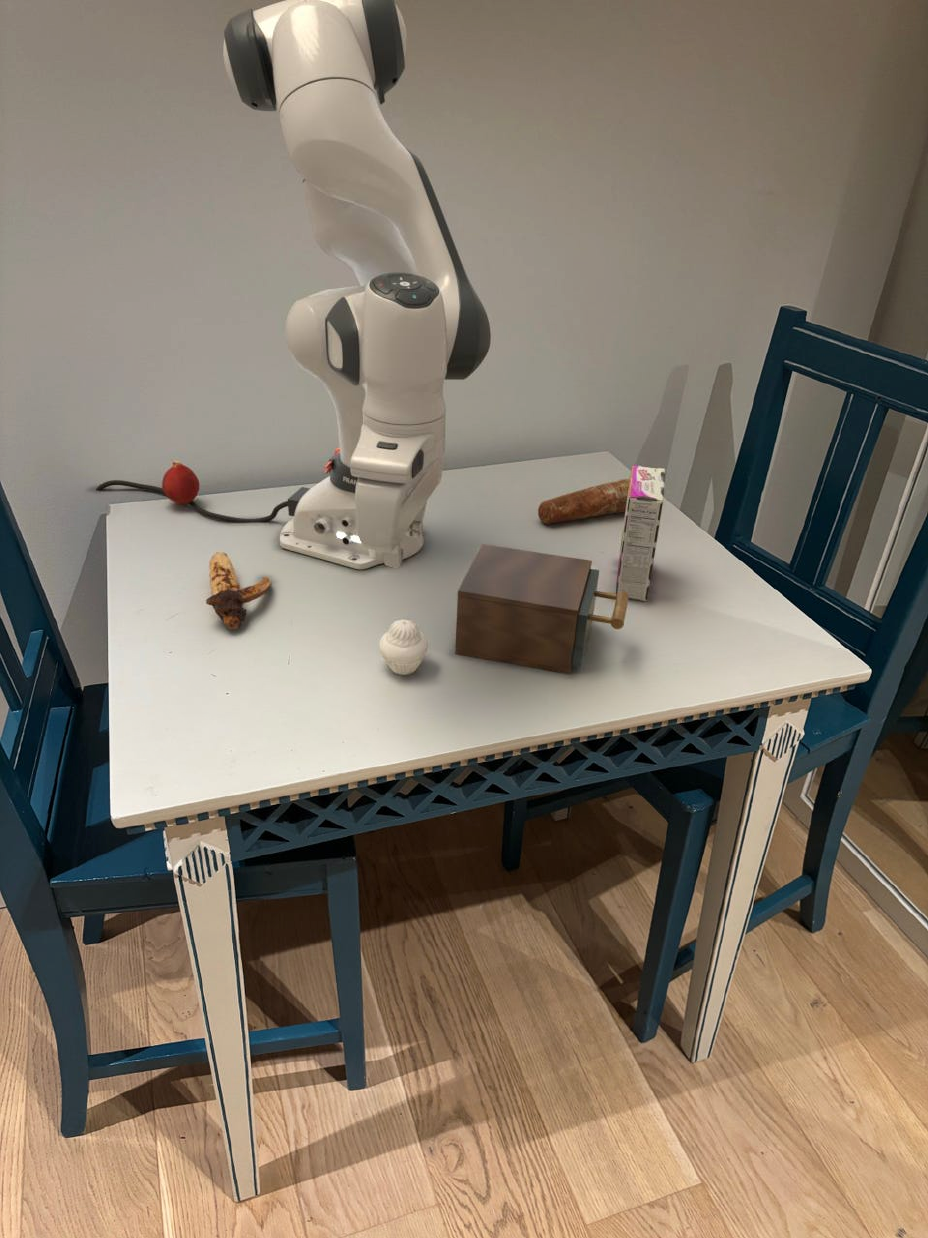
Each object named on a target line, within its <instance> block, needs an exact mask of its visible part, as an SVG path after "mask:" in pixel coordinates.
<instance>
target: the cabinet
mask: <svg viewBox="0 0 928 1238" xmlns="http://www.w3.org/2000/svg"><path fill="white" fill-rule="evenodd" d="M592 563H593V561H592V560H590V559H583V558H578V557H577V558H576V557H571V556H570V557H569V556H565V555H558V554H551V553H544V552H538V551H531V550H530V551H529V550H525V549H519V548H518V549H517V548H511V547H505V546H499V545H493V544H487V543H481V545H480V547H479V548H478V550H477V552H476V555H475V556H474V558H473V560H472V563H471V565H470V566H469V568H468V570H467V572H466V574H465V576H464V578H463V580H462V582H461V584H460V586H459V588H458V590H457V601H456V623H455V624H456V625H455V627H456V628H455V650H454V653H455V654H456V655H461V656H466V657H472V658H476V659H477V658H478V659H483V660H488V661H494V662H499V663H500V662H501V663H506V664H510V665H517V666H523V667H528V668H534V669H540V670H545V671H551V672H557V673H561V674H566V675H570V674H571V672H572V668H573V666H572V657H573V649H574V641H575V634H576V626H577V618H578V613H579V609H580V605H581V602H582V598H583V595H584V591H585V587H586V584H587V580H588V576H589V573H590V569H592Z"/></svg>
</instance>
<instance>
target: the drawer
mask: <svg viewBox="0 0 928 1238" xmlns="http://www.w3.org/2000/svg"><path fill="white" fill-rule="evenodd" d="M599 576H600V569H594V568H591V569H590V573H589V576H588V580H587V584H586V587H585V591H584V595H583V598H582V602H581V605H580V609H579V613H578V618H577V626H576V634H575V641H574V649H573V657H572V667H576V668H581V667H582V664H583V659H584V655H585V652H586V647H587V643H588V639H589V635H590V631H591V628H592V623H593V622H596V623H602V624H609V625H610V626H611V627H612V628H613V629H615V630H620V629H622V628H624V624H625V620H626V614H627V608H628V604H629V600H630V599H629V595H628V593H627V592H625V591H620V592H618V593H617V594H616V593H612V592H606V591H600V590H598V583H599ZM597 598H601V599H607V600H615V601H614V606H613V611H612V615H611V617H610V616H603V615H597V614H594V612H595V605H596V599H597Z"/></svg>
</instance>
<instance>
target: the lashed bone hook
mask: <svg viewBox="0 0 928 1238" xmlns="http://www.w3.org/2000/svg"><path fill="white" fill-rule="evenodd" d="M208 570H209V574H208V575H209V582H210V591H211V596H210V597H208V598H206V600H205V604H206V605H208V606H211V607H212V609H214V611H215V614H216V615H217V616H218V617H219V619H222V620H223V624H224V625H225V627H227V628H228V629H229V630H234V629H238V628H240V627H241V626H243V625H242V624H243V623H244V621H245V619H246V617H247V611H248V609H246V608H244V607H243V606H244V604H247V603H251V602H253V601H255V600H257V599H259V598H260V597H262V596H263V595H265V594H266V593H267V592H268V591H269V590H270V588H271V586H272V581H271V579H270V578H268V577H267V576H263V577H262V579H261V580H260V581H259V582H257V583H256V584H254V585H249V586H246V587H244V588H240V582H239V581H238V578H237V575H236V570H235V568H234V566H233V563H232V560H231V558H230V557H229V555H228V553H226V552H223V551H220V552H215V553H214V554H212V556H211V558H210V561H209V565H208Z"/></svg>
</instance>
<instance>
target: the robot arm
mask: <svg viewBox="0 0 928 1238" xmlns="http://www.w3.org/2000/svg"><path fill="white" fill-rule="evenodd" d="M223 37H224V39H223V47H222V50H223V51H222V53H223V65H224V69H225V71H226V72H225V73H226V74H227V77H228V80H229V82H230V83H231V85H232V88H233V89H234V90H235V92H236V94H237V95H238V96H239V98H240V100H241V102H242V103H243V104H245V105H246V106H247V107H249V108H250V109H252V110H253V111H259V112H260V111H261V112H278V116H279V117H278V118H279V122H280V128H281V131H282V136H283V140H284V143H285V147H286V150H287V153H288V156H289V159H290V161H291V163H292V165H293V166H294V169H295V170H296V171H297V173H298V174H299V175H300V178H301V185H302V188H303V192H304V197H305V201H306V206H307V210H308V216H309V219H310V224H311V225H310V226H311V228H312V234H313V238H314V240H315V242H316V243H317V245H318V247H319V248H320V249H321V250H322V252H324V253H325V254H326V255H327V256H329V257H331V258H333V259H335V260H337V261H340V262H342V263H343V264H344V265H345V266H347V267H348V268H349V269H350V270H351V272H353V274H354V275H355V277H356V278H357V280H358V283H359V285H355V286H354V285H353V286H348V287H340V288H330V289H324V290H321V291H319V292H316V293H313V294H310V295H308V296H305V297H303V298H300V299H298V300H296V301H294V303H293V304H292V305H291V308H290V309H289V311H288V313H287V316H286V321H285V325H284V335H285V342H286V345H287V348H288V351H289V353H290V355H291V357H292V358H293V360H294V361H295V363H296V364H297V365H298V366H299V367H300V368H301V369H302V370H304V371H305V372H306V373H308V374H310V375H311V376H312V377H314V378H315V379H316V380H318V382H320V383H321V384H322V385H323V386H324V388H325V390H326V391H327V393H328V394H329V396H330V398H331V401H332V403H333V406H334V409H335V415H336V421H337V429H338V430H337V432H338V441H339V442H338V443H339V446H338V447H337V448H336V449H335V450H334V451H333V455H332V456H331V457H329V459H328V463H326V465H325V466H324V469H325V471H324V474H325V475H327V474H329V476H327V477H326V478H324V479H322V480H321V481H319V482H318V483H317V484H315V485H314V486H311V488H309V487H304V486H301V487H300V488H298V489H297V491H295V492H294V493H293V494H292V495H290V496H289V497H288V498H287V500H286V501H283V502H280V503H279V504H277V505H276V506H274V508H273V510H272V512H271V513H270V514H269V515H267V516H263V517H258V518H243V517H235V516H229V515H223V514H220V513H216V512H212V511H208V510H206V509H205V508H203V507H201V506H200V505H199V504H198V503H196V502H195V501H194V500H193V501H191V502H190V503H189V504H188V506H190V507H192V508H193V509H194V510H195V511H197V512H198V513H199V514H201V515H203V516H205V517H207V518H210V519H214V520H218V521H222V522H223V521H224V522H229V523H234V524H235V523H236V524H237V523H238V524H251V523H253V524H254V523H267V522H271V521H272V520H274V519H275V518H276V517H277V515H278V514H279V512H280V511H281V510H282V509H285V508H287V510H288V516H290V517H292V518H291V519H289V520H288V521H287V522H286V524H285V525H284V526H283V528H282V529H281V531H280V534H279V545H280V548H282V549H285V550H288V551H291V552H295V553H299V554H302V555H306V556H310V557H313V558H316V559H319V560H324V561H327V562H330V563H334V564H337V565H341V566H345V567H348V568H351V569H355V570H366V569H369V568H372V567H374V566H377V565H380V564H384V565H385V566H386V567H389V568H396V569H397V568H399V567H400V566H401V564H402V563H403V561H404V559H408V558H410V557H412V556H413V555H416V554H417V553H418V552H420V550H421V549H422V548H423V546H424V544H425V543H424V541H425V540H424V536H423V533H422V532H423V530H424V529H423V527H424V517H425V512H426V509H427V504H428V501H429V499H430V498H431V496H432V495H433V493H434V492H435V491H436V489H437V488H438V486H439V485H440V483H441V482H442V481H441V480H442V476H443V456H444V455H445V451H446V419H447V418H446V417H447V407H446V402H445V399H444V383H445V381H446V380H449V381H451V380H452V381H454V380H455V381H459V380H460V381H463V380H466V379H467V378H469V377H470V376H471V375H472V374H473V373H474V372H476V370H477V369H478V368H479V367H480V365H482V363H483V361H484V360H485V358H486V357H487V355H488V353H489V350H490V348H491V340H492V338H491V336H492V335H491V325H490V320H489V317H488V314H487V311H486V309H485V307H484V306H485V305H483V302H482V301H481V299H480V297H479V295H478V294H477V292H476V290H475V289H474V287H473V285H472V283H471V281H470V279H469V276H468V275H467V273H466V270H465V268H464V264H463V261H462V259H461V257H460V254H459V251H458V249H457V246H456V244H455V242H454V238H453V236H452V233H451V231H450V229H449V225H448V224H447V220H446V218H445V215H444V213H443V210H442V207H441V205H440V202H439V200H438V197H437V195H436V192H435V189H434V187H433V184H432V183H431V180H430V178H429V176H428V174H427V171H426V169H425V167H424V165H423V163H422V161H421V160H420V158H419V157H418V156H417V155H416V154H415V153H413V152H412V151H411V150H409V149H408V148H406V147H405V146H404V144H402V143H401V142H400V140H399V139H398V138H397V137H396V136H395V134H394V133H393V132H392V130H391V128H390V126H389V125H388V123H387V121H386V120H385V118H384V116H383V114H382V111H381V109H380V106H381V105H384V103H385V102H386V100H385V99H386V98H385V95H386V94H387V93H388V92H390V91H391V90H393V88H394V87H395V86H396V85H397V84H398V83H399V80H400V78H401V77H402V75H403V73H404V71H405V69H406V59H407V53H408V46H409V45H408V32H407V26H406V23H405V20H404V17H403V14H402V12H401V10H400V9H399V7H398V5H397V3H396V2H395V0H282V1H278V2H275V3H272V4H270V5H266V6H264V7H261V8H258V9H256V10H253V9H252V8H251V7H250V8H248V9H246V10H243V11H241V12H238V13H237V14H235V15H233V16H231V17H230V18H229V20H228V22H227V24H226V26H225V28H224V30H223ZM379 104H380V106H379ZM402 235H403V236H402ZM403 237H404V238H403ZM404 239H405V240H404ZM111 486H122V487H128V488H129V487H130V488H135V489H139V490H145V491H152V492H156V493H160V494H163V495H166V494H165V493H164V492H163V488H162V487H159V486H155V485H150V484H143V483H139V482H138V483H137V482H132V481H128V480H120V479H113V480H106V481H104V482H103V484H102V483H100V484H99V485H98V486H97V487H96V489H95V491H97V492H98V491H99V492H100V491H103V490H105V489H106V488H108V487H111Z"/></svg>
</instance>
